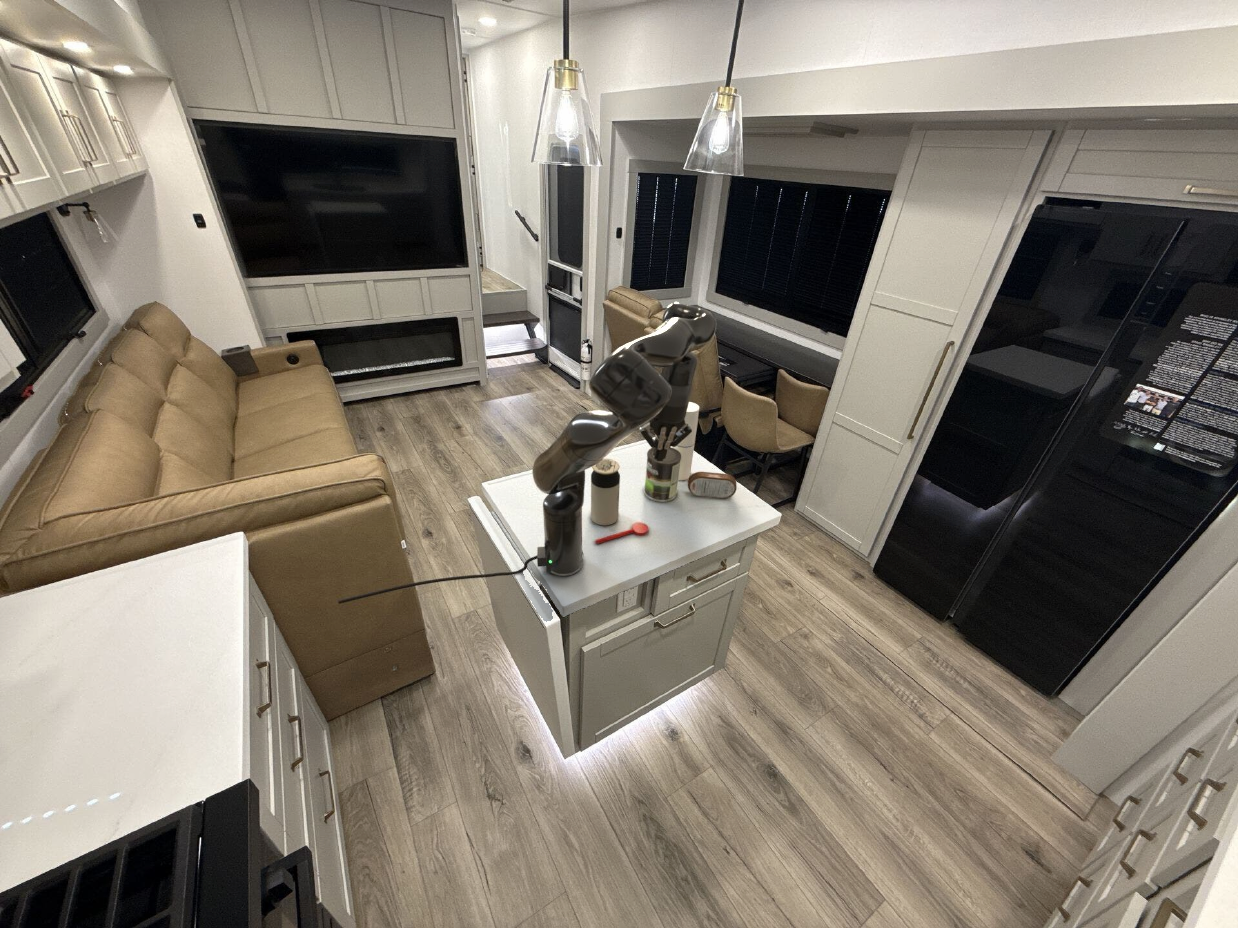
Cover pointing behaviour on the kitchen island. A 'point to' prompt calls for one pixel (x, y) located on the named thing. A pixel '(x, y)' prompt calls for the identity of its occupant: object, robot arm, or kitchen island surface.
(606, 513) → the travel mug
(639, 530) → the red spoon
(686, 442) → the cylindrical container
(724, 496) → the tin
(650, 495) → the coffee can
